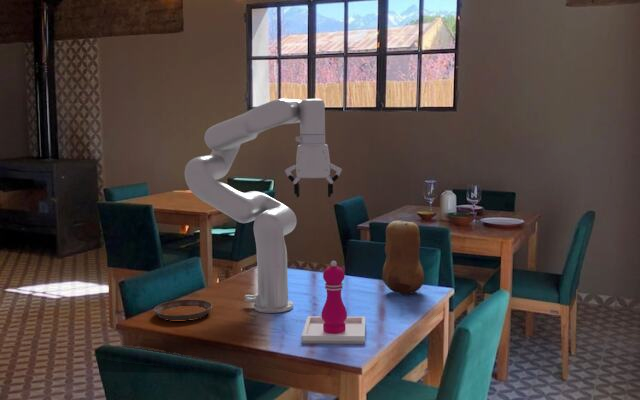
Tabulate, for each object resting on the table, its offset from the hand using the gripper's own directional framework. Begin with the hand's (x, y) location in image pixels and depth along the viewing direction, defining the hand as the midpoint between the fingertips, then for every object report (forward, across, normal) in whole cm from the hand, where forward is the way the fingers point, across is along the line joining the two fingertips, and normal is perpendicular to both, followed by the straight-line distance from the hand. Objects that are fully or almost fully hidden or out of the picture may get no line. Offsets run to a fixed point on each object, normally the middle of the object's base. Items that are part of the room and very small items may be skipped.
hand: (313, 196), depth 204 cm
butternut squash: (+36, +28, +22) cm, 51 cm away
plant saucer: (+37, -41, -4) cm, 55 cm away
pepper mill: (+36, +7, -20) cm, 41 cm away
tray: (+36, +7, -20) cm, 42 cm away
